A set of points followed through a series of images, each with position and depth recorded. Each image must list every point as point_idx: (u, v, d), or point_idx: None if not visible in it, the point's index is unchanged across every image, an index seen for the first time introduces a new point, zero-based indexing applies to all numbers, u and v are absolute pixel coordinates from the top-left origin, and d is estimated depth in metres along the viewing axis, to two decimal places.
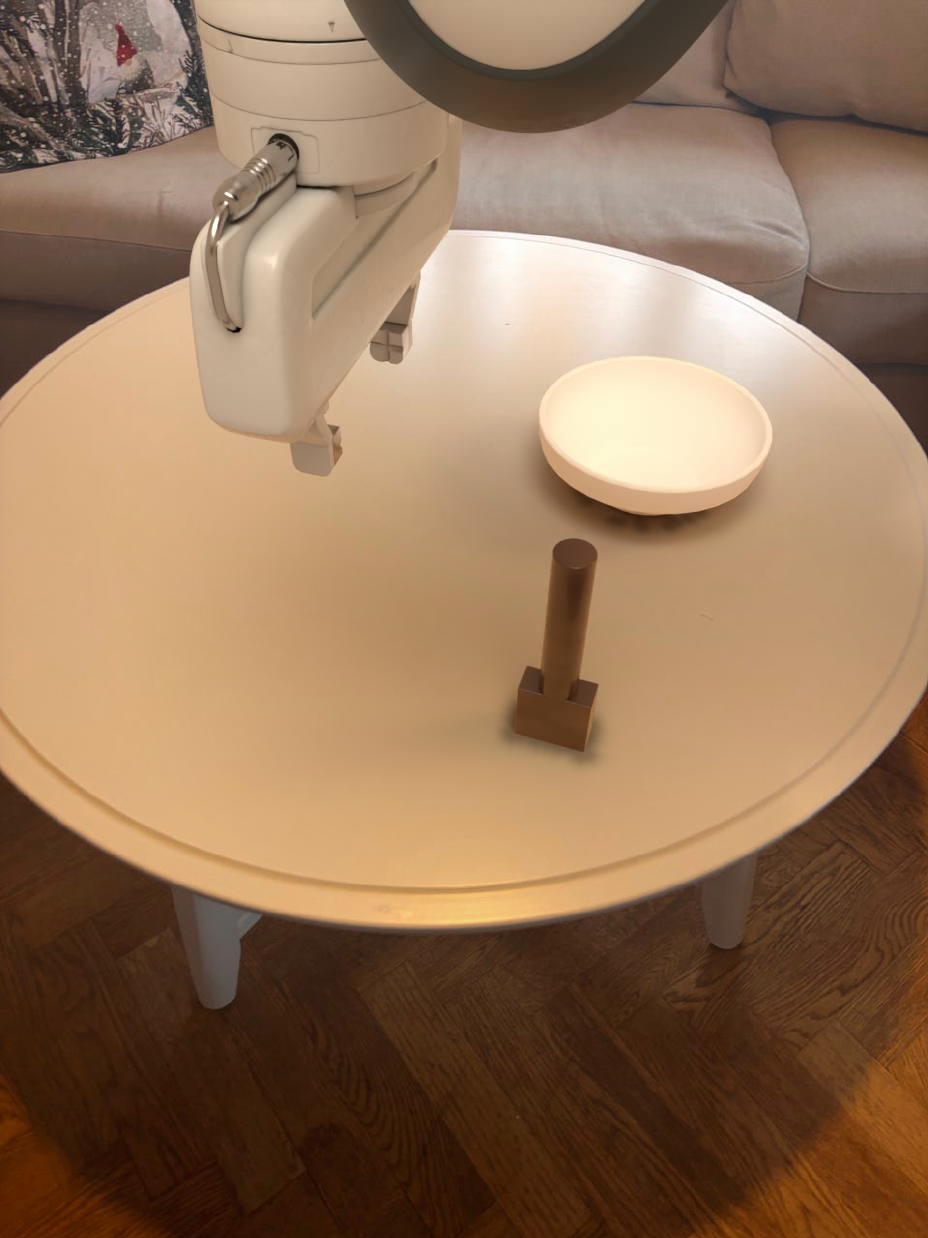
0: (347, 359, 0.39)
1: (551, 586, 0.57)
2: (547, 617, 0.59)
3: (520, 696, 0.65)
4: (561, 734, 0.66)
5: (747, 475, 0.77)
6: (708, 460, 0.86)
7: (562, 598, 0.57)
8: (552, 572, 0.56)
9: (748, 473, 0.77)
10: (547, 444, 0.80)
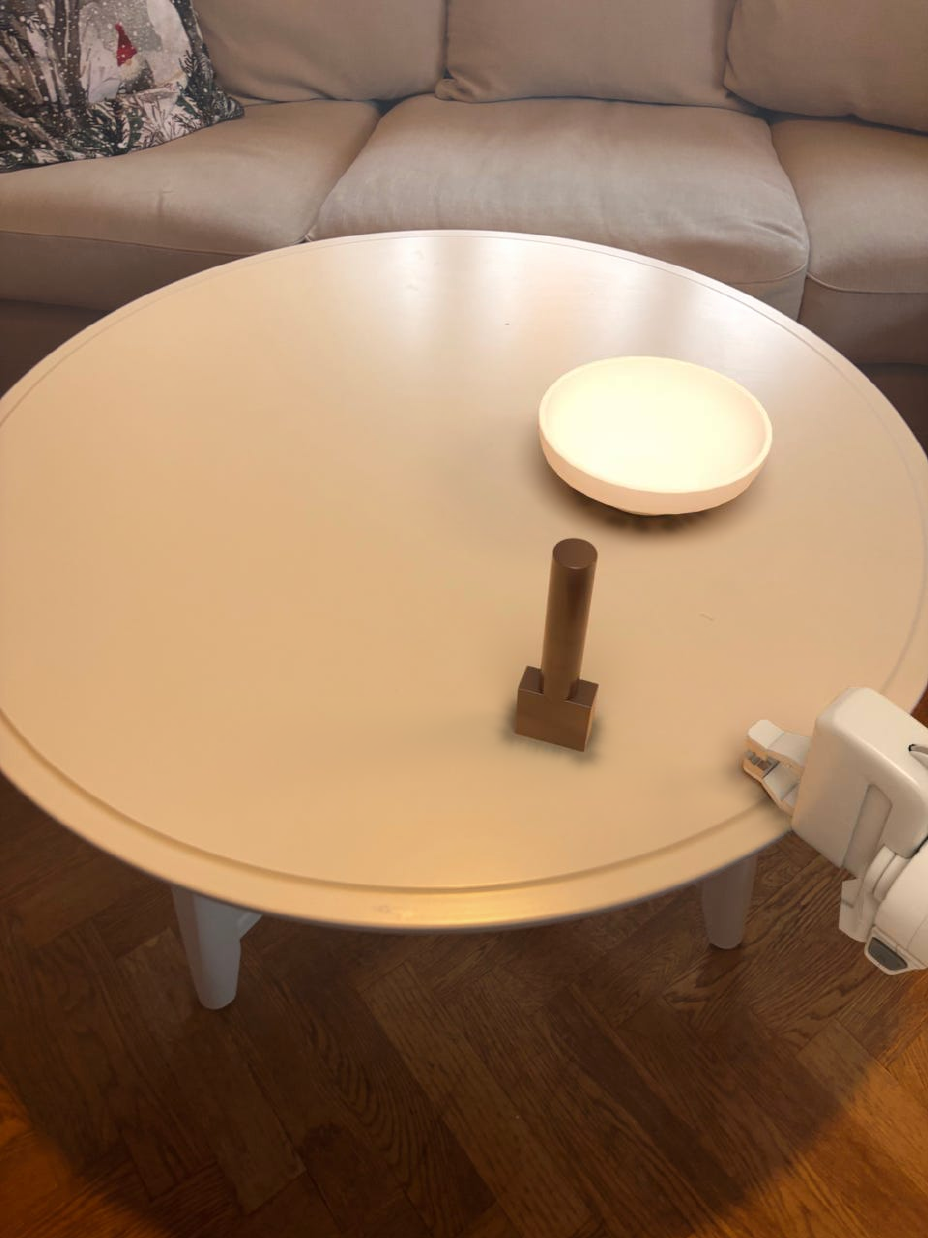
0: (815, 774, 0.56)
1: (551, 586, 0.57)
2: (547, 617, 0.59)
3: (520, 696, 0.65)
4: (561, 734, 0.66)
5: (747, 475, 0.77)
6: (708, 460, 0.86)
7: (562, 598, 0.57)
8: (552, 572, 0.56)
9: (748, 473, 0.77)
10: (547, 444, 0.80)
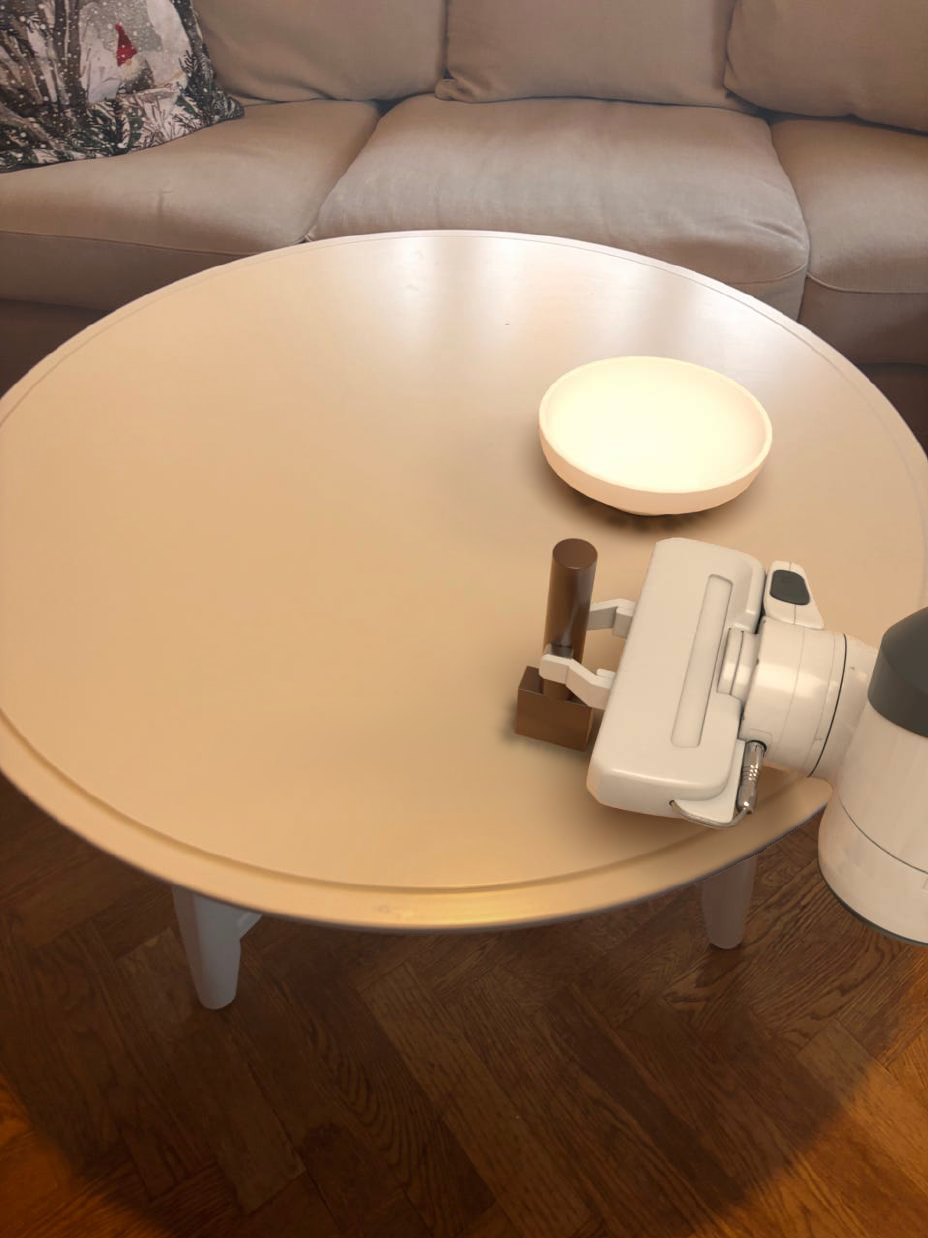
0: None
1: (551, 586, 0.57)
2: (547, 617, 0.59)
3: (520, 696, 0.65)
4: (561, 734, 0.66)
5: (747, 475, 0.77)
6: (708, 460, 0.86)
7: (562, 598, 0.57)
8: (552, 572, 0.56)
9: (748, 473, 0.77)
10: (547, 444, 0.80)
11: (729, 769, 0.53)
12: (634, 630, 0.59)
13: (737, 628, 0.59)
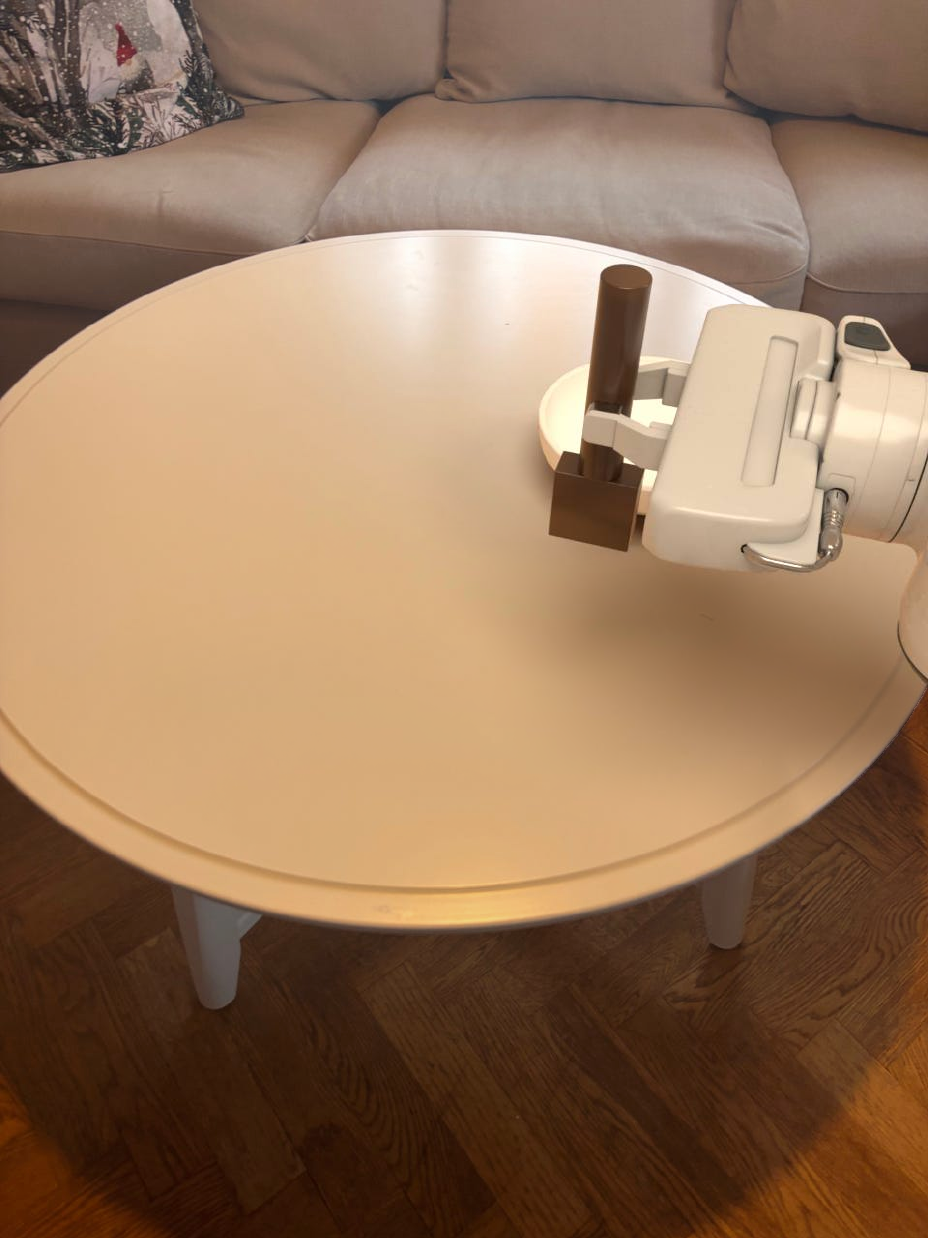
0: None
1: (598, 321, 0.50)
2: (591, 368, 0.52)
3: (557, 481, 0.57)
4: (602, 529, 0.59)
5: None
6: None
7: (611, 334, 0.49)
8: (600, 301, 0.49)
9: None
10: (547, 444, 0.80)
11: (811, 507, 0.45)
12: (690, 383, 0.52)
13: None
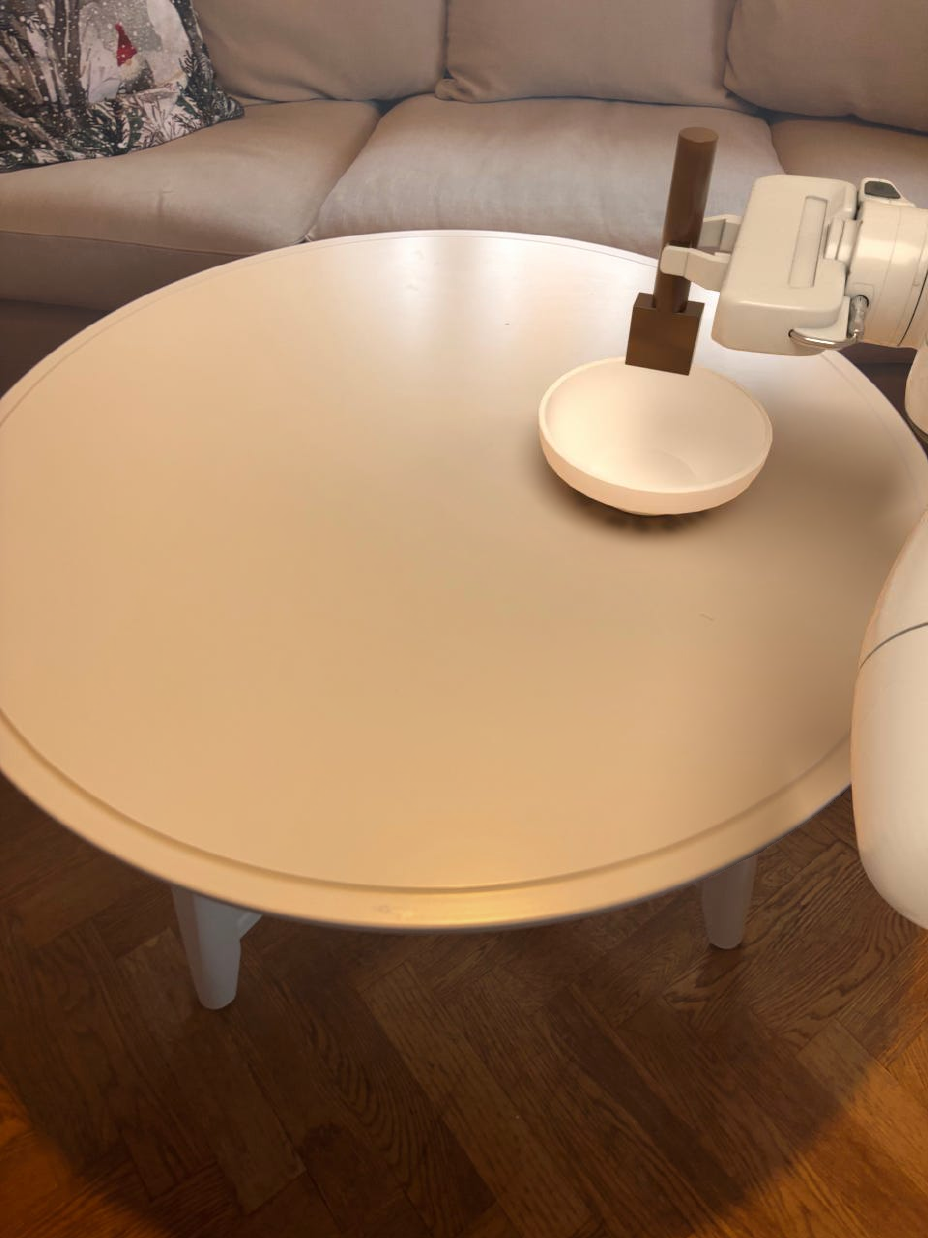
0: None
1: (675, 172, 0.65)
2: (668, 212, 0.67)
3: (634, 314, 0.72)
4: (669, 356, 0.74)
5: (747, 475, 0.77)
6: (708, 460, 0.86)
7: (685, 181, 0.64)
8: (677, 155, 0.64)
9: (748, 473, 0.77)
10: (547, 444, 0.80)
11: (841, 300, 0.60)
12: (745, 225, 0.67)
13: None
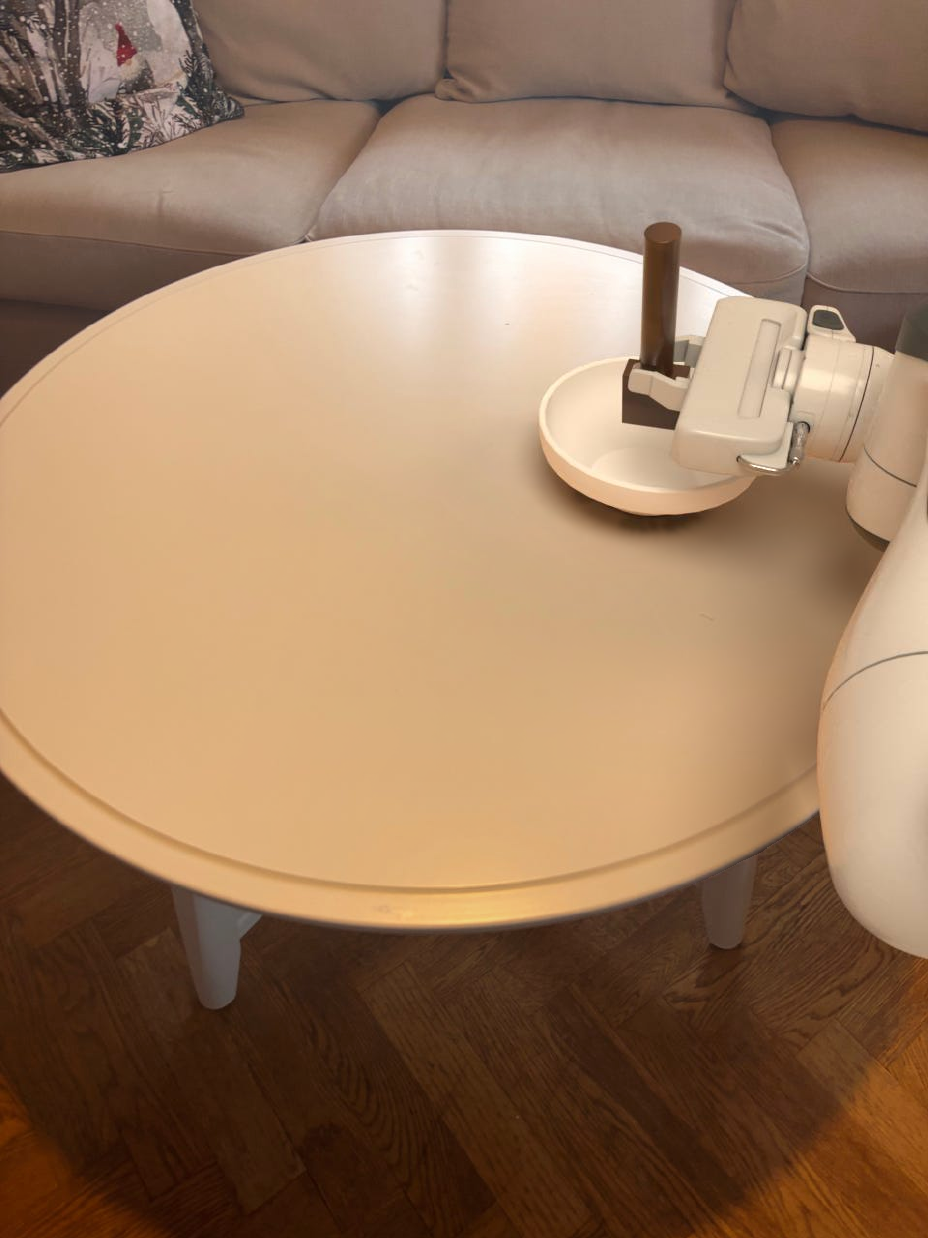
0: None
1: (644, 266, 0.69)
2: (643, 298, 0.71)
3: (624, 382, 0.78)
4: (661, 415, 0.79)
5: None
6: None
7: (654, 274, 0.69)
8: (644, 252, 0.68)
9: None
10: (548, 444, 0.80)
11: (783, 431, 0.68)
12: (704, 350, 0.75)
13: None
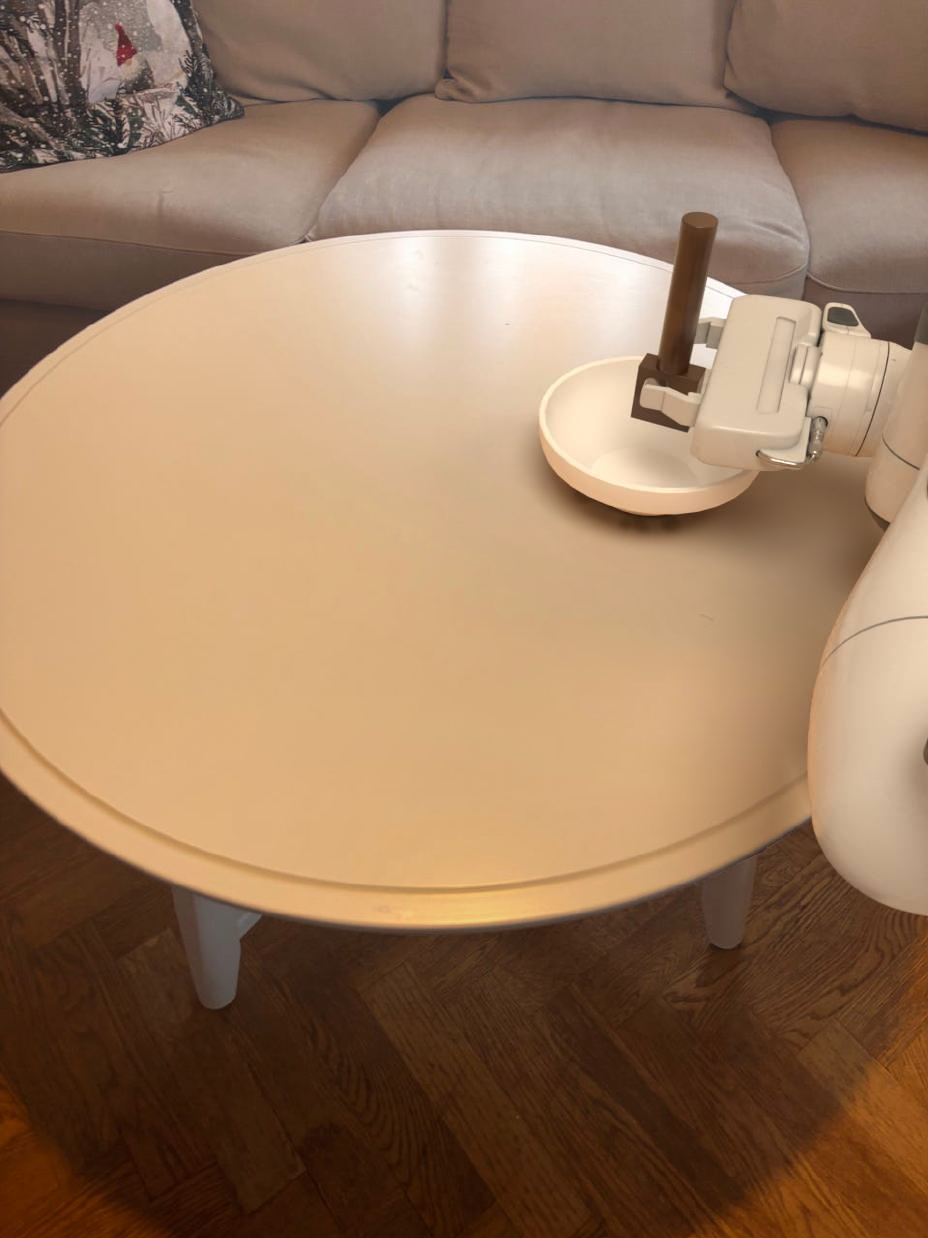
0: None
1: (677, 251, 0.71)
2: (671, 286, 0.73)
3: (639, 373, 0.78)
4: None
5: (747, 475, 0.77)
6: None
7: (686, 260, 0.70)
8: (680, 236, 0.70)
9: (748, 473, 0.77)
10: (548, 444, 0.80)
11: (802, 426, 0.69)
12: (721, 348, 0.76)
13: None
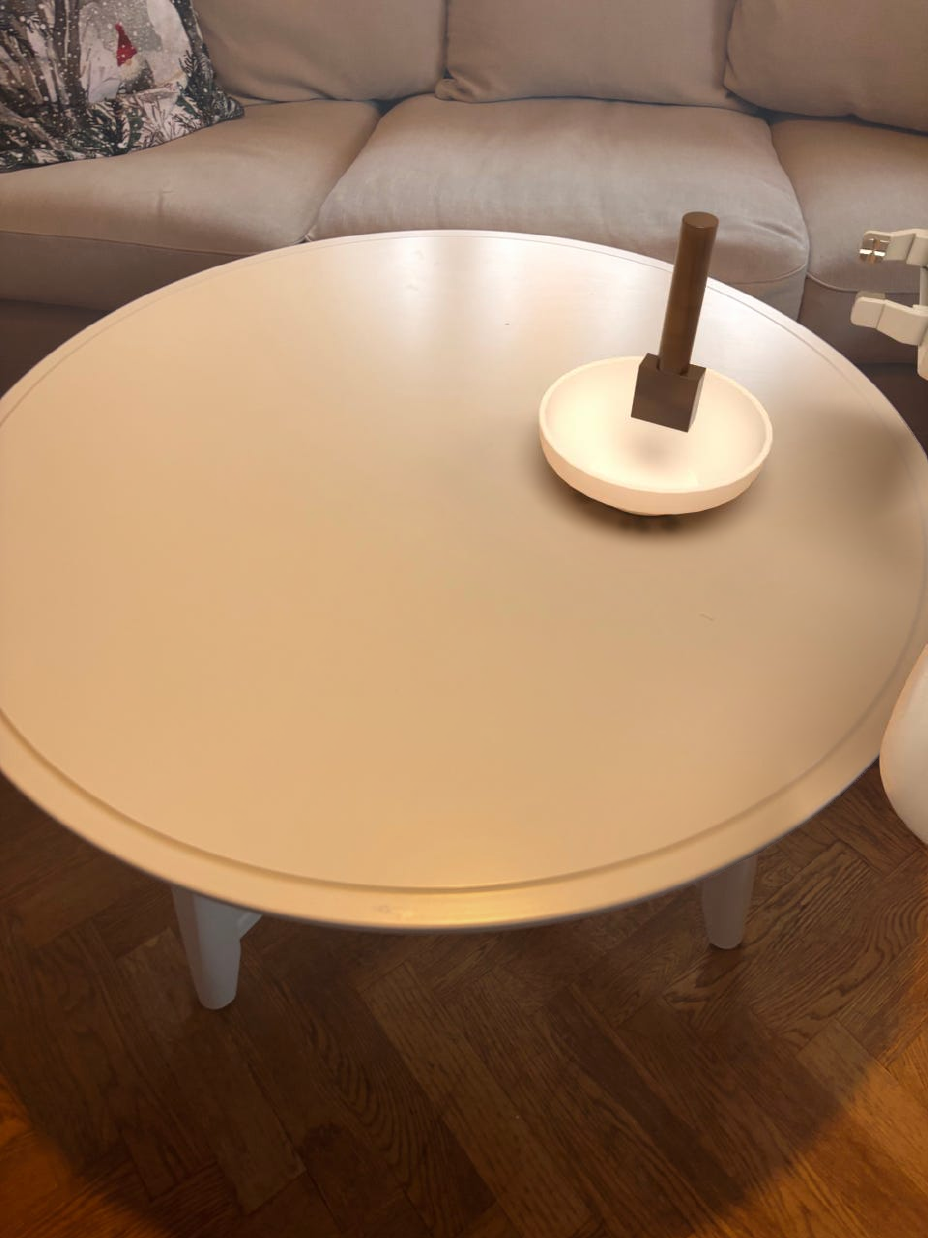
0: None
1: (678, 251, 0.71)
2: (671, 286, 0.73)
3: (640, 373, 0.78)
4: (670, 413, 0.80)
5: (747, 475, 0.77)
6: (709, 460, 0.86)
7: (686, 260, 0.70)
8: (680, 236, 0.70)
9: (748, 473, 0.77)
10: (548, 444, 0.80)
11: None
12: None
13: None
